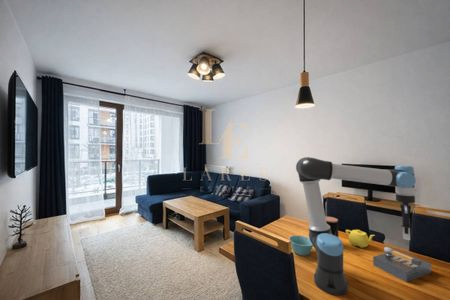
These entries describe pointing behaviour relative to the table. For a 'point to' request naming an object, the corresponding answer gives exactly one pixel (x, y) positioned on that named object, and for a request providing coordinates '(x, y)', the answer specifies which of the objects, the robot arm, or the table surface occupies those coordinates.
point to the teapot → (359, 238)
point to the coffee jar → (333, 225)
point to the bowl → (301, 245)
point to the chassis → (401, 266)
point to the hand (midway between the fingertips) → (406, 238)
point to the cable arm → (402, 256)
